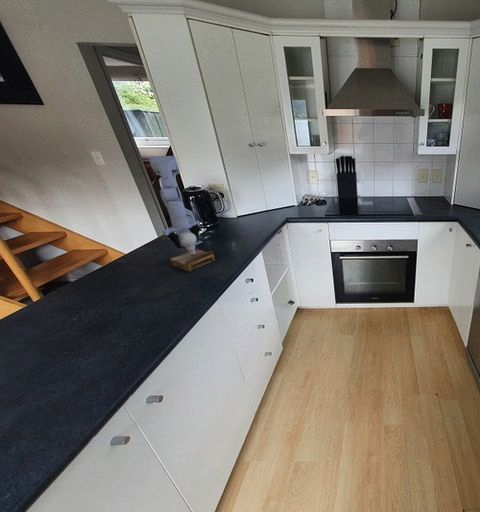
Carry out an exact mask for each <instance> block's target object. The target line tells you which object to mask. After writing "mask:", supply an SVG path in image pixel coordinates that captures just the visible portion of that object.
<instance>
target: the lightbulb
mask: <svg viewBox="0 0 480 512" xmlns="http://www.w3.org/2000/svg"><path fill="white" fill-rule="evenodd" d="M179 241H180V243H181V244H182V245H184V246H185V247H184V246H183V247H184V248H185V250H187V251H188V252H189V255H195V254H196V251H195V250H196V245H195V243H196V241H197V238H196V236H195V235H194V234H193V233H191V232H185V233H182V234H181V235H180V237H179ZM188 252H187V253H188Z"/></svg>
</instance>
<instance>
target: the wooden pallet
mask: <svg viewBox="0 0 480 512" xmlns="http://www.w3.org/2000/svg"><path fill="white" fill-rule="evenodd" d="M195 251H196V254H195V255H189V252H185V253H183V254H180V255H177V256H174V257H172V258H170V263H171V265H172V267H175V268H178V269H180V270H183V271H185V272H190V273H191V272H193V271H194V270H195V269H198V268H200V267H203V266H206V265H208V264H210V263H211V262H216V258H215V254H214V251H213V250H210V251H205V250H202V249H199V248H195Z"/></svg>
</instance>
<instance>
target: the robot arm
mask: <svg viewBox="0 0 480 512" xmlns="http://www.w3.org/2000/svg"><path fill="white" fill-rule="evenodd" d="M148 161H149V163H150V166H151V169H152V170H153V172H154V173H155V175H157V176H160V178H159V185H160V189H159V194H160V197H161V199H162V201H163V203H164V206H165V207H166V210H167V212H168V216H169V218H170V223H171V225H172V226H170V227H168V228H166V229H163V230H162V234H163V235H164V236H166V237H167V238H168V239H169V240H170V241H171V242H172V243H173V244H174V245H175V247H176V248H177V249H182V247H184V248H186V247H185V246H184V245H182V244H181V243H180V241H179V237H180V235H181V234H182V233H185V232H191V233H193V234H194V235H195V236H196V238H197V241H196V243H195V246H197V245H201V244H202V243H204V241H203V240H200V239H199V234H200V231H201V222H200V220H196V218H195V215H194V212H193V211H192V210H190V209H187V208H185V204H184V202H183V196H182V193H181V190H180V188H179V185H178V182H177V175H179V174H180V168H179V164H178V159H177V158H176V156H175V155H163V156H149V158H148Z"/></svg>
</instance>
